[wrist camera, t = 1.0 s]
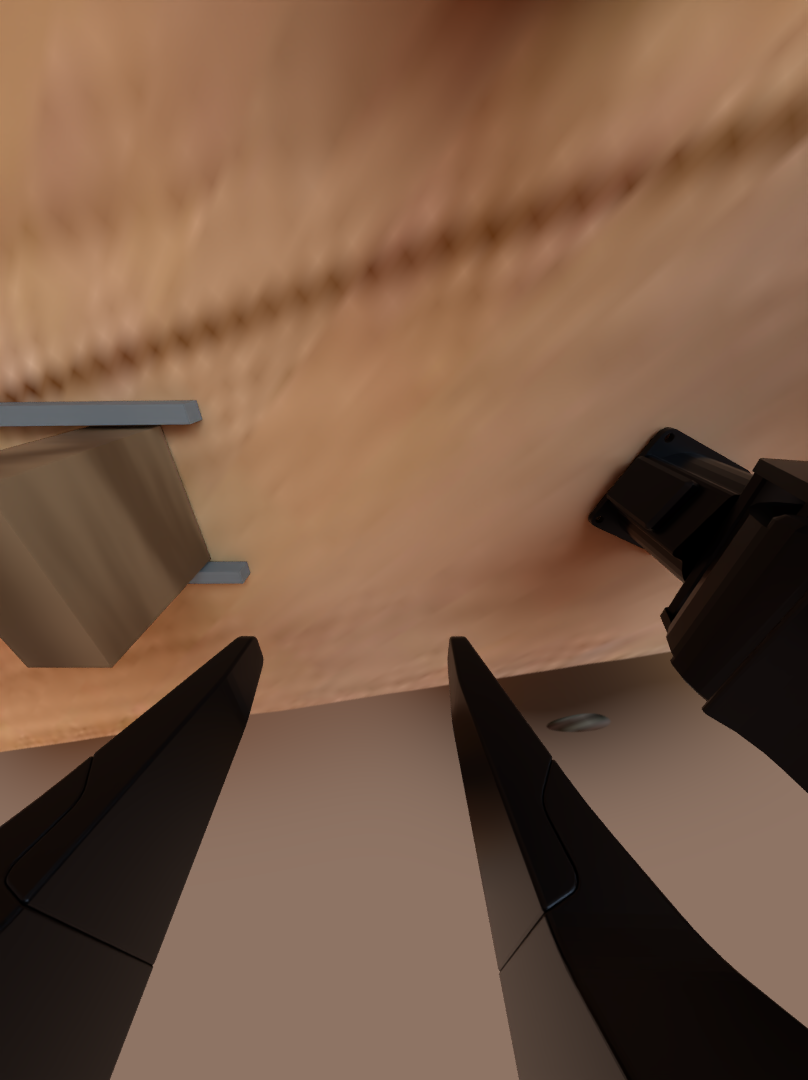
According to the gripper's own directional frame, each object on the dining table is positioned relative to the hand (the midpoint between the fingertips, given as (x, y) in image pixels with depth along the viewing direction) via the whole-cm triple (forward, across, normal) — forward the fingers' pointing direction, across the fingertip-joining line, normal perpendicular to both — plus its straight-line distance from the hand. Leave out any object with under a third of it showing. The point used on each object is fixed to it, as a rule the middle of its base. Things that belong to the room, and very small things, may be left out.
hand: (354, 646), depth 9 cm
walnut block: (+13, +14, +1) cm, 19 cm away
